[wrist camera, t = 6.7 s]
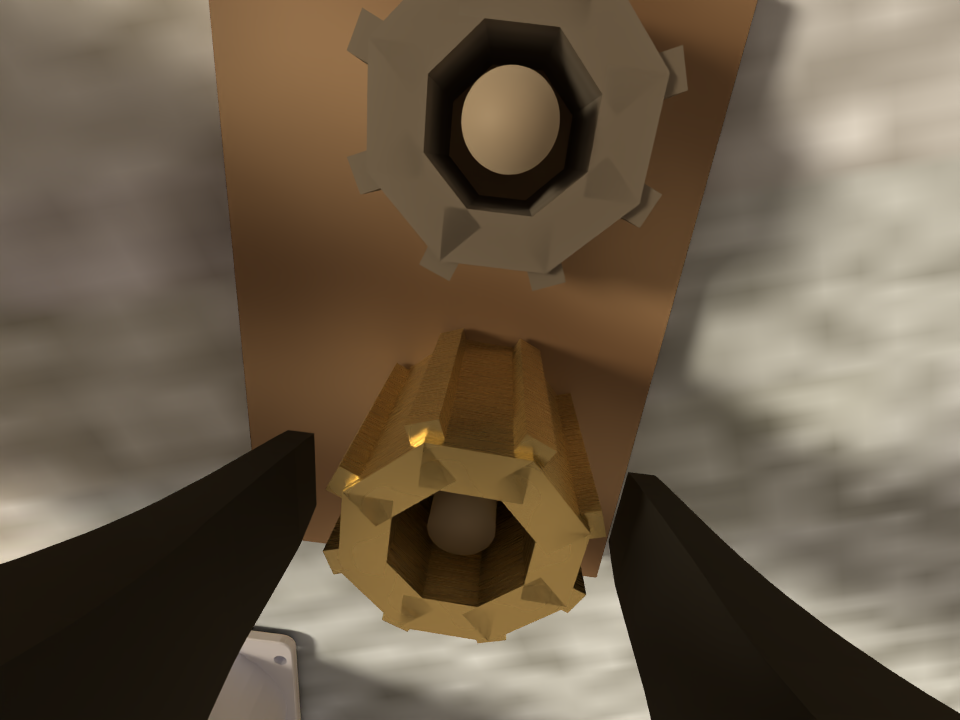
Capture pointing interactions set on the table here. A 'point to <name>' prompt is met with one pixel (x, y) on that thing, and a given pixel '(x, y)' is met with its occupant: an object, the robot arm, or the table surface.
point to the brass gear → (467, 493)
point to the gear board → (373, 253)
